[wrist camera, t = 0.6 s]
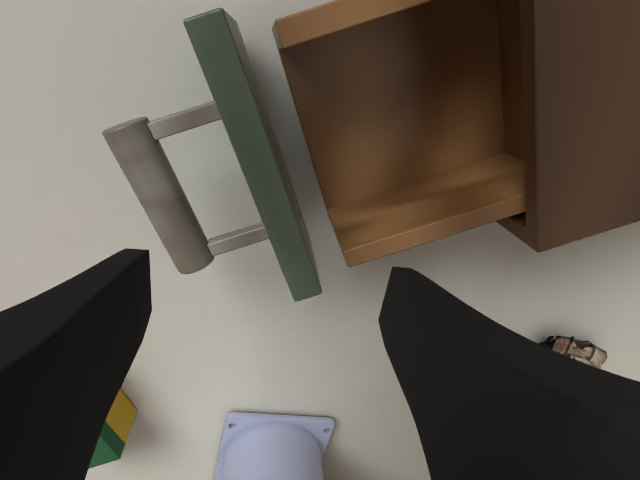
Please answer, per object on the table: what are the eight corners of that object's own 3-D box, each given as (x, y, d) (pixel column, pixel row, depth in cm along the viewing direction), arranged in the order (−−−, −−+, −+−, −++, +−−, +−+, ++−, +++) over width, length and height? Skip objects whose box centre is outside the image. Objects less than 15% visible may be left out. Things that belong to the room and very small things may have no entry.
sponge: (75, 429, 26) (49, 481, 23) (13, 363, 23) (-26, 412, 20) (137, 410, 26) (120, 459, 23) (84, 341, 23) (55, 387, 20)
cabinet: (452, 189, 22) (537, 253, 15) (421, -57, 16) (533, -131, 10) (684, 115, 21) (877, 147, 15) (731, -159, 16) (1067, -307, 9)
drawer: (211, 263, 21) (194, 334, 16) (110, 60, 16) (37, 67, 11) (508, 169, 21) (590, 209, 15) (497, -67, 16) (610, -122, 11)
